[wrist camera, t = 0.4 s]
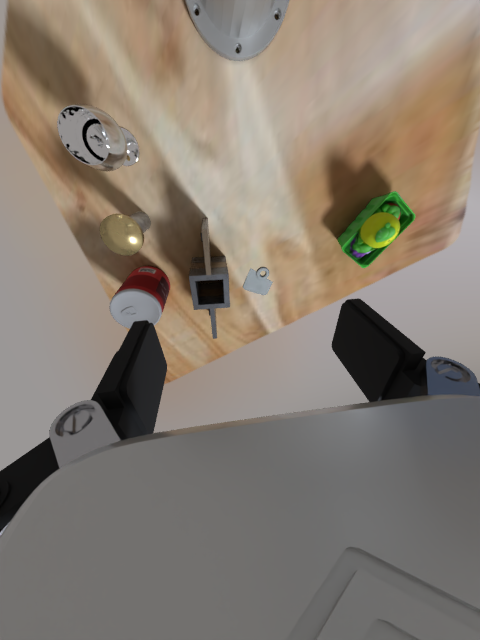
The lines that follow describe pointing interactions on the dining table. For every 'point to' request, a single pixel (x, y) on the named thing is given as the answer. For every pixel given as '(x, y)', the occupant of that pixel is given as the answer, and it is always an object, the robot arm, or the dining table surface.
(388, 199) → the fruit basket
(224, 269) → the hinge leaf
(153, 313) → the canned food
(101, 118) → the wineglass
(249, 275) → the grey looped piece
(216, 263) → the hinge leaf
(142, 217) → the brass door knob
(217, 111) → the dining table surface
